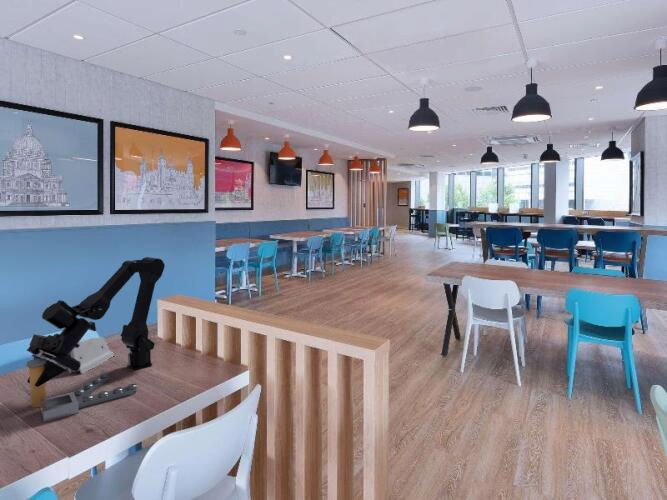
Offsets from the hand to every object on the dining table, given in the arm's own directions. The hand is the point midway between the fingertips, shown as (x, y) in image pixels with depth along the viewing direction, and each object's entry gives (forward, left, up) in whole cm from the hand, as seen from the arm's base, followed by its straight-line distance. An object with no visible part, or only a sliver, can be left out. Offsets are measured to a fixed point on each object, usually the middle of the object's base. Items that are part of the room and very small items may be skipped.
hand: (32, 384), depth 116 cm
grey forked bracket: (-13, +2, -7) cm, 15 cm away
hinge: (-18, -24, -7) cm, 31 cm away
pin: (-1, -1, -7) cm, 7 cm away
